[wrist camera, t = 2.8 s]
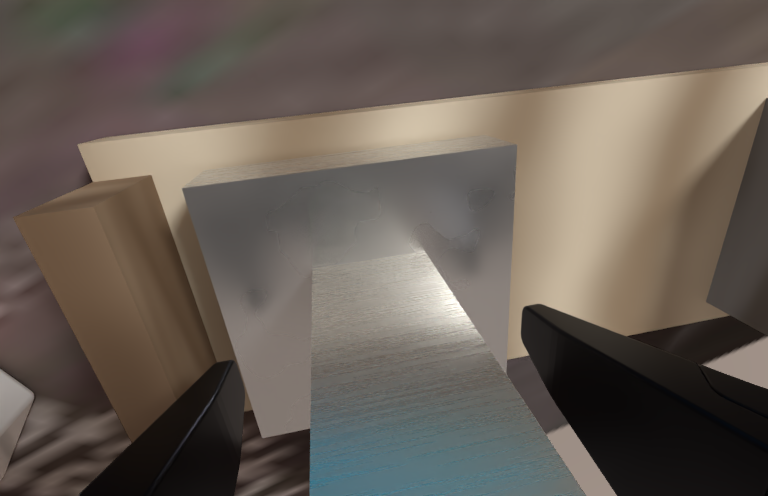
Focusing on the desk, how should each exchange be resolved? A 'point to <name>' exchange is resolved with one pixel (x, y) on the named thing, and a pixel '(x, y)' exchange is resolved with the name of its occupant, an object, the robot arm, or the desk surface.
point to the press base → (426, 124)
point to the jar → (11, 415)
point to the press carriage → (380, 315)
